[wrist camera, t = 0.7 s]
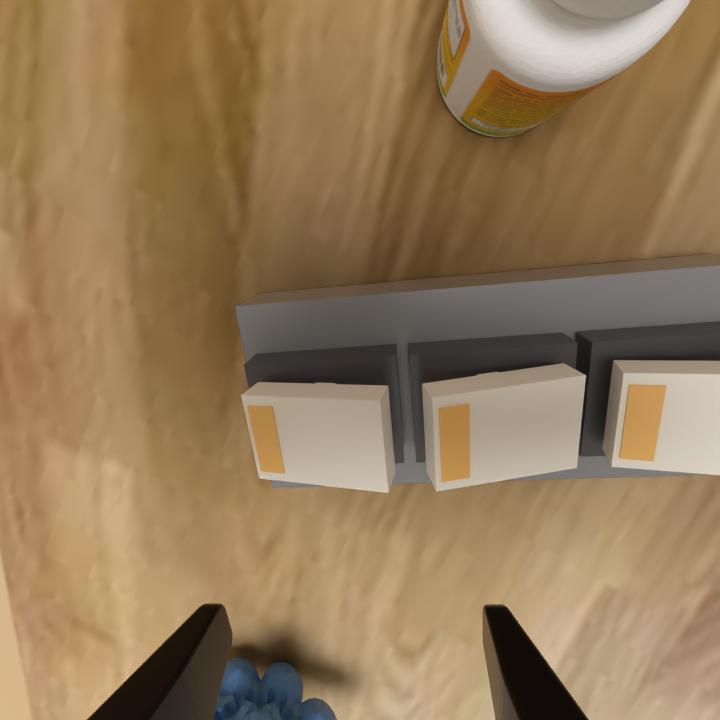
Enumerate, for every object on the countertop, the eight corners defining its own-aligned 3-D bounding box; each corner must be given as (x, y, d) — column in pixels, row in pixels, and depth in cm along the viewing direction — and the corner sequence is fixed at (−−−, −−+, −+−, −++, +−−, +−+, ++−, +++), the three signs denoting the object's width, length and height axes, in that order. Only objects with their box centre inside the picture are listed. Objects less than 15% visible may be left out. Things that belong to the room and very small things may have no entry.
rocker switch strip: (709, 253, 17) (812, 265, 13) (674, 437, 20) (748, 495, 16) (258, 293, 19) (220, 314, 15) (288, 453, 22) (263, 507, 18)
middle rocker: (554, 358, 15) (587, 376, 13) (548, 442, 16) (578, 468, 14) (417, 377, 14) (432, 398, 12) (422, 463, 15) (436, 492, 14)
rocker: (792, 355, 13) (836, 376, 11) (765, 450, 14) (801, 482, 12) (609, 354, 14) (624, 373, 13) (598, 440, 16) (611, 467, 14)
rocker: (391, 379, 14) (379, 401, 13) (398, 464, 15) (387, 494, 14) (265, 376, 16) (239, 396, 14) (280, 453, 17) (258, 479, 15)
